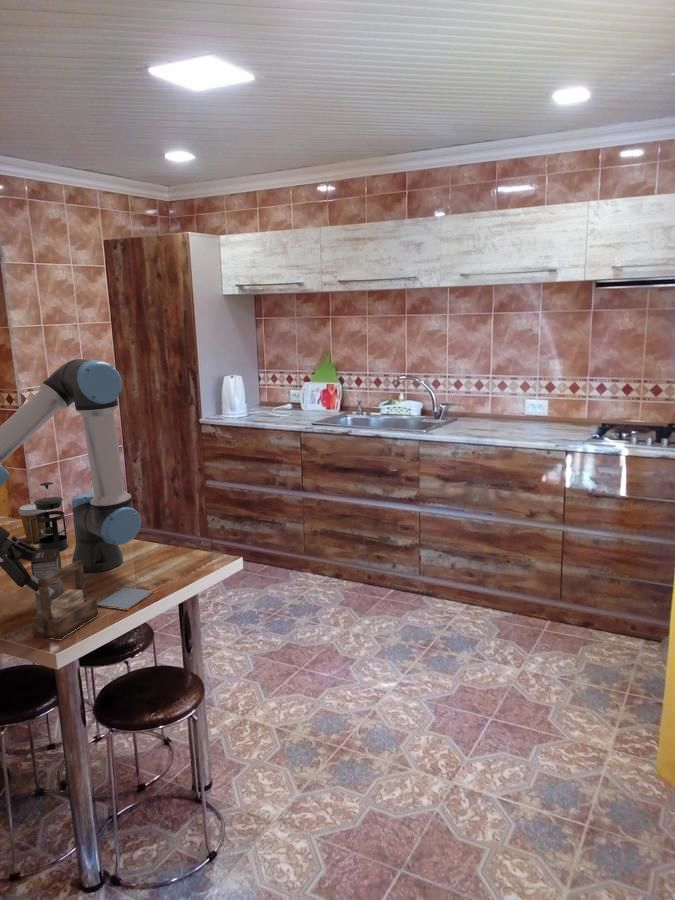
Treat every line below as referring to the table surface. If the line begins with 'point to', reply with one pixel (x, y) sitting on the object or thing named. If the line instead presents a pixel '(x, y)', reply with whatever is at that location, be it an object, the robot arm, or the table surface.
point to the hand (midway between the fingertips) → (56, 585)
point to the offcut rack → (63, 605)
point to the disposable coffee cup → (31, 512)
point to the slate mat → (124, 598)
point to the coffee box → (47, 572)
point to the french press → (53, 530)
